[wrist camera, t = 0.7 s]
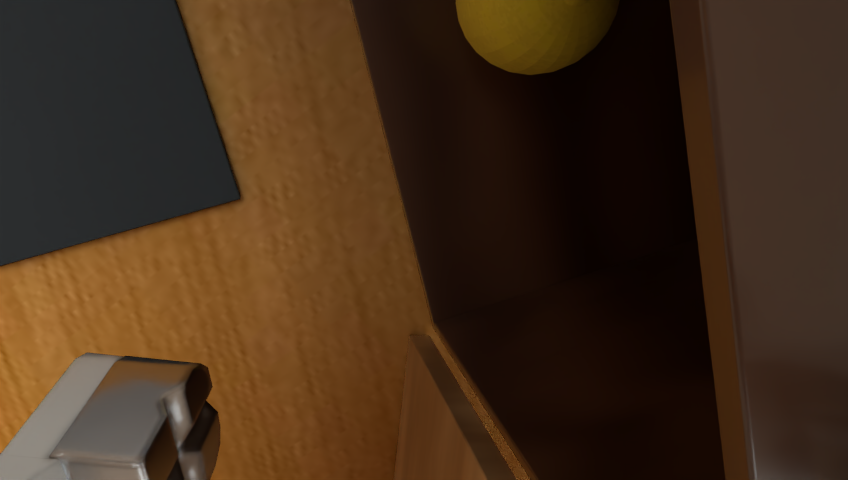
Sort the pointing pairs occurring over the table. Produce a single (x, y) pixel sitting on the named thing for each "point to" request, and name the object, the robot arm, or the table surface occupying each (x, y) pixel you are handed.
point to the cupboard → (635, 233)
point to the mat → (101, 123)
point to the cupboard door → (441, 425)
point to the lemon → (535, 31)
